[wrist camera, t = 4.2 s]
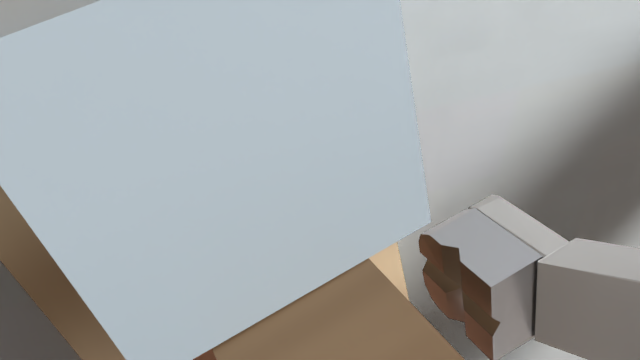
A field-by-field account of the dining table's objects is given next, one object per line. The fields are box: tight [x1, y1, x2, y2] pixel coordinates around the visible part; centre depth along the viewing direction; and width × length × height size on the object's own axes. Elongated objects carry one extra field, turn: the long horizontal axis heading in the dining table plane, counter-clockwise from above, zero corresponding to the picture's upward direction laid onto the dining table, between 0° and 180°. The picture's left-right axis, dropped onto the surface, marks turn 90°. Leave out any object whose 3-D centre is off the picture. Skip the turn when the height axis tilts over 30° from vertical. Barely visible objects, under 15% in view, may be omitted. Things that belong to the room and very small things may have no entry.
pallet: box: [0, 186, 464, 360], centre depth 9 cm, size 16×7×7 cm, turn 15°
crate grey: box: [0, 0, 431, 360], centre depth 7 cm, size 4×4×4 cm
